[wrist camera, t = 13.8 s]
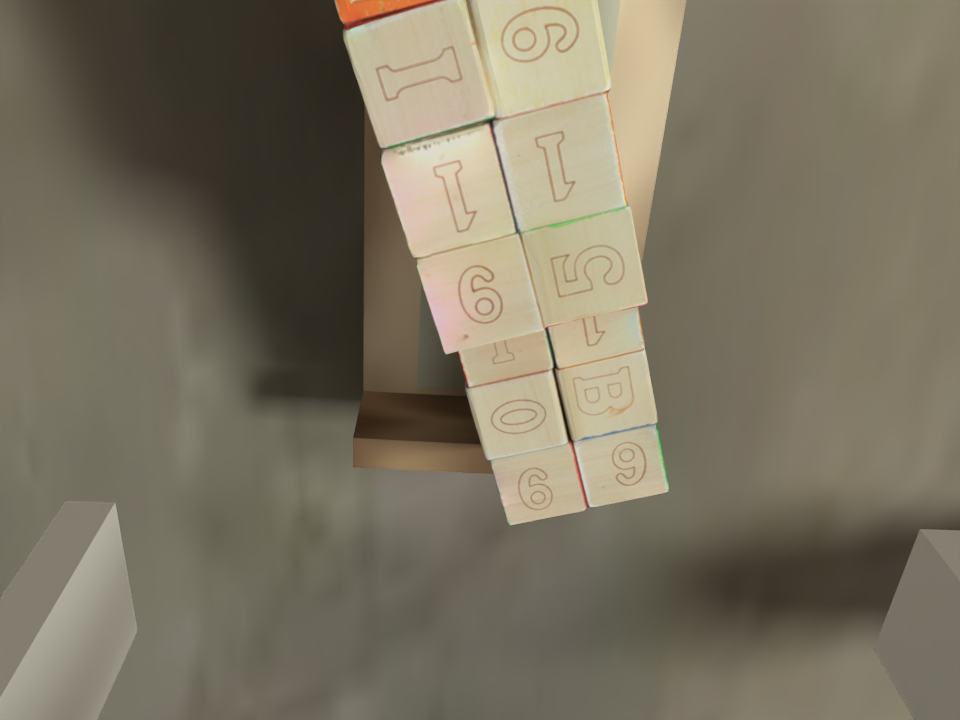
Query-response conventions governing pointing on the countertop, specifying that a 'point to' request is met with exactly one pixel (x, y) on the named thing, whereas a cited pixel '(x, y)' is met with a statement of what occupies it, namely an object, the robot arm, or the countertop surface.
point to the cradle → (398, 290)
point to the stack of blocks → (519, 234)
